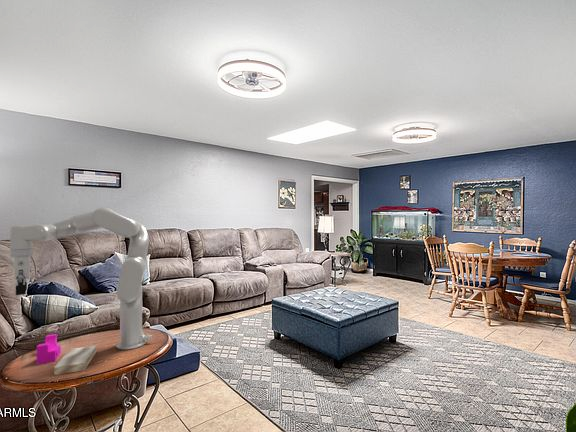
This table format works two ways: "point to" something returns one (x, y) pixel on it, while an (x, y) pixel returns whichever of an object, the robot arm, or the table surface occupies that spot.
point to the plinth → (75, 360)
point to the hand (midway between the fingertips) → (21, 292)
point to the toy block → (48, 350)
